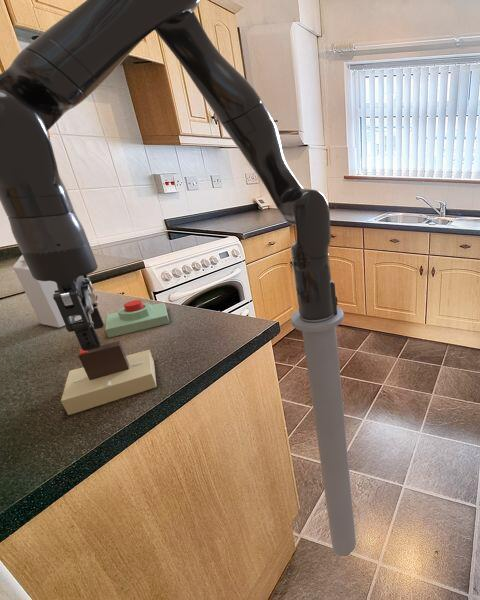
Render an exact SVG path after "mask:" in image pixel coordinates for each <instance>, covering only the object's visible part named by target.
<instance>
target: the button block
mask: <svg viewBox="0 0 480 600" xmlns="http://www.w3.org/2000/svg"><path fill="white" fill-rule="evenodd" d="M142 303H143V306H144V308H143V309H141V310H138V311H133V312H126V310H125V307H124V306H123V307H121V308H120V309H118V311H117V312H116V311H115V312H111V313H107V314H106V321H105V327H104V330H105V333H106V336H107V338H108V339H110V338H114V337H117V336H122V335H126V334H130V333H134V332H138V331H143V330H147V329H152V328H155V327H159V326H163V325H167V324H170V318H169V315H168V310H167V307H166V303H165V302H158V303H154V304H151V303H148V302H142Z"/></svg>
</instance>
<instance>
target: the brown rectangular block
mask: <svg viewBox="0 0 480 600" xmlns="http://www.w3.org/2000/svg"><path fill="white" fill-rule="evenodd" d="M77 356H78V359H79V362H80V363H81V365H82V367H84V369H85V372H86V374H87V376H88V378H89V380H92V379H96V378H99V377H103V376H106V375H110V374H113V373H117V372H120V371H124V370H127V369H129V363H128V360H127V358H126V356H127V355H126V352H125V350H124V348H123V345H122V343H121V341H120V340H118V341H114V342H110V343H106V344H100V347H99V348H96V349H92V350H88V351H84V350H83V349H82V348H80V349H79V352H78V355H77Z"/></svg>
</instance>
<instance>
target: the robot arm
mask: <svg viewBox="0 0 480 600" xmlns="http://www.w3.org/2000/svg"><path fill="white" fill-rule="evenodd" d="M200 2H201V0H85V1H84V2H83V3H81V4H80V5H78V6H76V7H75V8H74V9H73V10H72V11H70V12H69V13H67V14H66V15H65V16H64V17H62V18H61V19H59V20H58V21H57V22H56V23H53V25H52V26H50V27H49V28H47V30H45V31H43V32H42V33H41V34H39V36H38V37H36V38H35V39H34V40H33V41H31V43H29V44H28V45H27V46H26V47H24V48H23V49H22V50H21V51H20V52H19V53H18V54H17V55H16V57H15V58H14V59H13V60H12V62H11V64H10V66H9V67H8V68H7V69H5V70H4V71H3V72H1V73H0V204H1V206H2V208H3V210H4V213H5V214H6V216H7V220H8V222H9V225H10V230H11V232H12V233H11V234H12V235H13V238H14V240H15V242H16V244H17V246H18V248H19V250H20V254H21V256H22V255H23V257H24V259H25V261H26V264H27V266H28V268H29V270H30V272H31V274H32V276H33V278H34V279H36V280H39V281H54V282H56V284H57V288H58V290H55V294H53V296H54V297H53V299H54V300H55V302H56V304H57V306H58V309H59V311H60V313H61V316H62V318H63V320H64V323H65V328H66V331H67V332H68V333H71V332H72V333H73V332H74V334H75V337H76V338H77V341H78V343H79V345H80V349H83V350H84V351H88V350H92V349H96V348H99V347H100V346H101V341H100V338H99V336H98V334H97V331H96V330H99V329H103V328H104V326H105V325H104V324H105V323H104V321H103V318H102V316H101V313H100V311H99V308H98V306H99V303H98V302H99V301H98V295H97V294H96V291H95V289H94V286H93V283H92V282H91V279H90V277H89V274H92V273H94V272H96V271H97V269H98V263H97V261H96V259H95V258H96V257H95V255H94V252H93V249H92V247H91V244H90V242H89V239H88V237H87V234H86V232H85V228H84V226H83V224H82V222H81V220H80V218H79V217H78V215H77V213H76V211H75V208H74V206H73V203H72V201H71V198H70V195H69V193H68V190H67V188H66V185H65V184H64V182H63V179H62V178H61V175H60V173H59V168H58V163H57V160H56V155H55V152H54V148H53V145H52V141H51V138H50V135H49V132H48V131H49V130H50V129H51V128H52V127H53V126H55V124H56V123H57V122H58V121H59V120H60V119H61V118H62V117H63V116H64V115H65V114H66V113H67V112H68V111H70V110H72V109H74V108H75V107H77V106H79V105H80V104H81V103H83V102H84V101H85V100H87V98H89V96H91V95H92V94H93V93H94V92H95V91H96V90H97V89H98V88H99V87H100V86H101V85H102V84H103V83H104V82H105V81H107V79H108V78H109V77H110V76H111V75H112V74H113V73H114V72H115V70H116V69H117V68H118V67H119V66H120V65H121V64H122V63H123V61H124V60H125V59H126V58H127V57H128V56H129V55H130V54H131V53H132V51H133V50H134V49H135V48H136V47H137V46H138V45H139V44H140V43H141V42H142V41H143V40H145V38H146V37H148V36H149V35H150V34H151V33H152V32H154V31H155V33H156V34H157V35H158V36H159V38H160V39H161V40H162V41H163V43H164V44H165V45H166V46H167V48H168V49H169V50H170V52H171V53H172V54H173V56H175V58H176V59H177V61H178V63H180V65H181V66H182V67H183V70H185V73H187V75H188V76H189V78H190V79H191V81H192V82H193V84H194V85H195V87H196V88H197V90H198V91H199V93H200V94H201V96H202V97H203V98H204V100H205V102H206V104H208V106H209V107H210V109H211V110H212V111H213V113H214V115H215V117H216V119H217V120H218V122H219V123H220V124H221V126H222V127H223V129H224V130H225V132H226V133H227V134H228V136H229V137H230V139H231V140H232V142H233V143H234V145H235V146H236V147H237V148H238V150H239V151H240V152H241V154H242V155H243V157H244V158H245V161H247V163H248V164H249V166H250V167H251V168H252V170H253V171H254V173H256V175H257V176H258V178H259V179H260V181H261V182H262V184H263V185H264V187H265V189H266V190H267V192H268V194H269V196H270V198H271V200H272V201H273V203H274V206H275V207H276V209H277V211H278V212H279V214H280V215H281V217H282V219H284V221H286V222H287V223H288V224H290V225H291V226H294V227H295V233H296V234H295V235H296V241H294V242H293V243H291V244H290V256H291V263H292V268H293V276H294V284H295V291H296V297H297V305H298V306H297V307H298V310H299V313H300V314H299V316H300V319H301V320H302V321H304V322H309V323H318V322H323V321H327V320H329V319H331V318H332V317H333V316H335V315H337V307H338V305H339V304H338V296H337V295H336V294H337V293H336V284H335V282H334V281H333V280H332V271H331V262H330V250H329V249H330V248H329V247H330V245H331V240H332V238H331V237H332V235H331V233H332V232H331V214H330V207H329V203H328V201H327V198H326V197H325V195H324V194H323V192H320V191H319V190H317V189H312V188H304V187H303V186H302V185H301V184H300V182H299V181H298V179H297V178H296V176H295V175H294V173H293V172H292V171H291V169H290V167H289V165H288V163H287V160H286V158H285V154H284V150H283V146H282V141H281V137H280V133H279V130H278V127H277V125H276V123H275V121H274V119H273V117H272V115H271V113H270V111H269V110H268V109H267V107H266V105H265V103H264V102H263V100H262V98H261V97H260V95H259V94H258V92H257V91H256V89H255V88H254V87H253V85H252V84H251V83H250V81H248V80H247V79H246V78H245V77H244V76H243V75H242V74H241V73H240V72H239V71H238V70H237V69H236V68H235V67H234V66H233V65H232V64H231V63H230V62H229V61H228V60H227V59H226V58H225V57H224V56H223V55H222V54H221V53H220V51H219V49H217V47H216V46H215V45H214V44H213V42H212V40H211V39H210V37H209V35H208V34H207V32H206V30H205V29H204V27H203V26H202V24H201V22H200V21H199V20H200V19H198V16H197V15H196V13H195V10H196V9H197V8H198V7H199V4H200ZM76 316H81V318H82V319H81V320H82V321H81V320H80V321H75V319H74V318H75V317H76Z"/></svg>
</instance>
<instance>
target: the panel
mask: <svg viewBox="0 0 480 600" xmlns="http://www.w3.org/2000/svg"><path fill="white" fill-rule="evenodd" d="M126 358H127V360H128V363H129V369H127V370H124V371H120V372H117V373H113V374H110V375H106V376H103V377H99V378H96V379H92V380H89V378H88V376H87V374H86V372H85V369H84V367H83V366H82V367H78V368H74V369H72V370H69V372H68V374H67V378H66V381H65V384H64V388H63V392H62V395H61V399H60V402H61V404H62V406H63V408H64V410H65V412H66V414H67V415H68V416H71V415H75V414H77V413H81V412H83V411H86V410H89V409H92V408H96V407H99V406H102V405H105V404H108V403H111V402H114V401H118V400H121V399H124V398H127V397H130V396H133V395H136V394H140V393H143V392H145V391H149V390H153V389H155V388H157V379H156V368H155V361H154V358H153V354H152V353H151V350H150V349H147V350H143V351H139V352H135V353H131V354H127V355H126Z"/></svg>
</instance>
